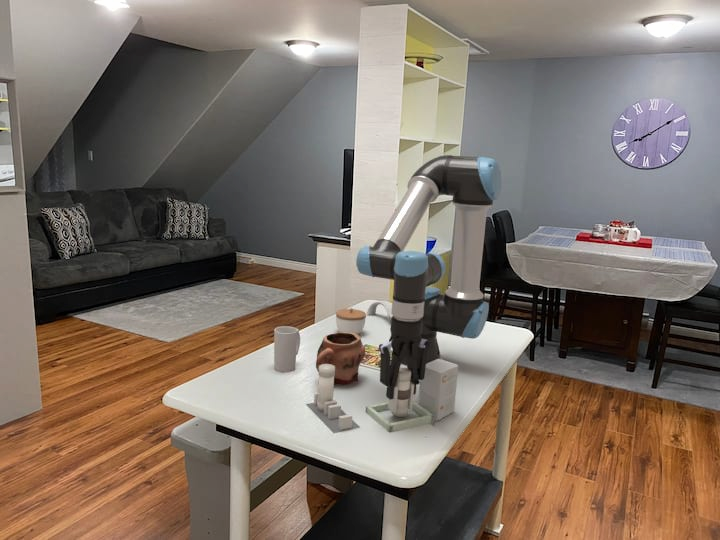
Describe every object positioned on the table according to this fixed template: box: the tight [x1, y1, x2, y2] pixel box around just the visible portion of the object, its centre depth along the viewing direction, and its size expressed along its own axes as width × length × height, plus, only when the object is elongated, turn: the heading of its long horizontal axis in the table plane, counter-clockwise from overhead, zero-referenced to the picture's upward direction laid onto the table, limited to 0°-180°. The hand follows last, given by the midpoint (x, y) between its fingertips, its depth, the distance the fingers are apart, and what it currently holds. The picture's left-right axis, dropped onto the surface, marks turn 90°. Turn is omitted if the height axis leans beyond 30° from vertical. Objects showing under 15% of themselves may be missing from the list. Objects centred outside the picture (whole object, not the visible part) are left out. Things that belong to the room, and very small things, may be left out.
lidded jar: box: [335, 307, 367, 335], centre depth 202 cm, size 11×11×9 cm
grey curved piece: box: [366, 300, 393, 321], centre depth 220 cm, size 24×12×7 cm, turn 47°
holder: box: [305, 364, 361, 434], centre depth 137 cm, size 7×16×12 cm, turn 29°
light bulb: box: [391, 367, 411, 418], centre depth 138 cm, size 4×4×11 cm
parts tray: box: [365, 400, 435, 433], centre depth 139 cm, size 13×11×3 cm
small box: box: [417, 358, 459, 422], centre depth 144 cm, size 8×6×13 cm
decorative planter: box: [315, 331, 366, 386], centre depth 158 cm, size 20×12×14 cm, turn 152°
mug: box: [273, 325, 301, 373], centre depth 169 cm, size 10×7×12 cm, turn 147°
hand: (400, 408), depth 139 cm, fingers closed on light bulb, 4 cm apart
